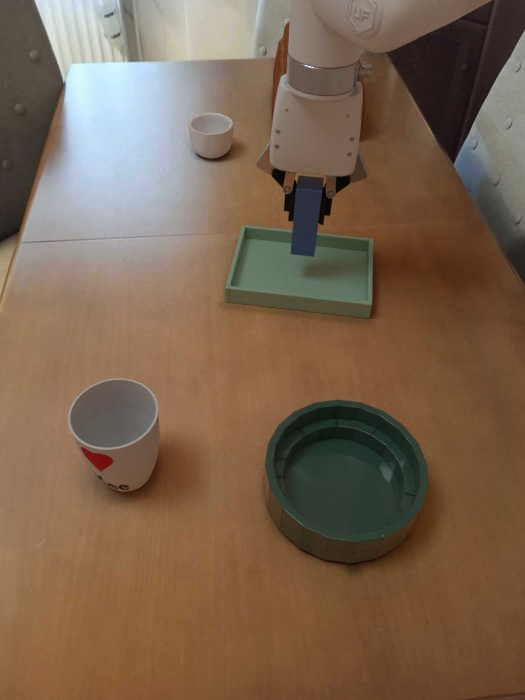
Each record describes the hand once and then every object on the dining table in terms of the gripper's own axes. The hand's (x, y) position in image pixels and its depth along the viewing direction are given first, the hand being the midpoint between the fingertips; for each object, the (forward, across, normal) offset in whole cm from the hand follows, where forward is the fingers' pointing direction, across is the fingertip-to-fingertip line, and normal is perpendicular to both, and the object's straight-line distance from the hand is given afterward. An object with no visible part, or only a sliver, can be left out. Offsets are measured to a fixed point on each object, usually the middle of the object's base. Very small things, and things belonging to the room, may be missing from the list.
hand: (306, 215), depth 77 cm
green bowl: (+10, -7, +33) cm, 35 cm away
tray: (+10, 0, 0) cm, 10 cm away
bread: (+10, +2, -50) cm, 51 cm away
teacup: (+10, +19, -32) cm, 38 cm away
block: (+5, 0, 0) cm, 5 cm away
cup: (+10, +15, +34) cm, 39 cm away
